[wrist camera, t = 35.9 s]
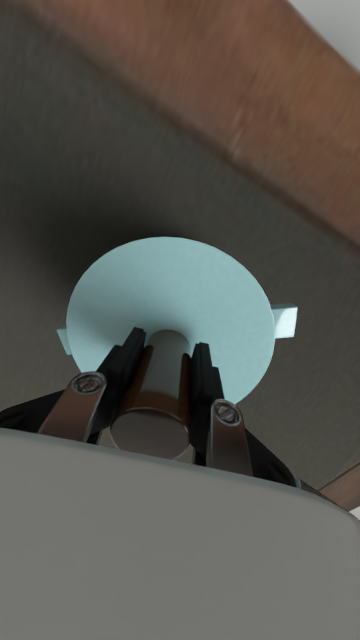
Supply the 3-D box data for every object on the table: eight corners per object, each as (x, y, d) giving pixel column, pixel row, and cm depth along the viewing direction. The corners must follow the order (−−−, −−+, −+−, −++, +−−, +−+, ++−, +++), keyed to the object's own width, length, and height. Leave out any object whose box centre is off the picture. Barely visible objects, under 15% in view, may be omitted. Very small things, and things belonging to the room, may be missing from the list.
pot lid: (44, 252, 11) (-154, 272, 5) (275, 220, 10) (435, 188, 3) (106, 411, 17) (52, 523, 10) (263, 404, 15) (316, 529, 9)
